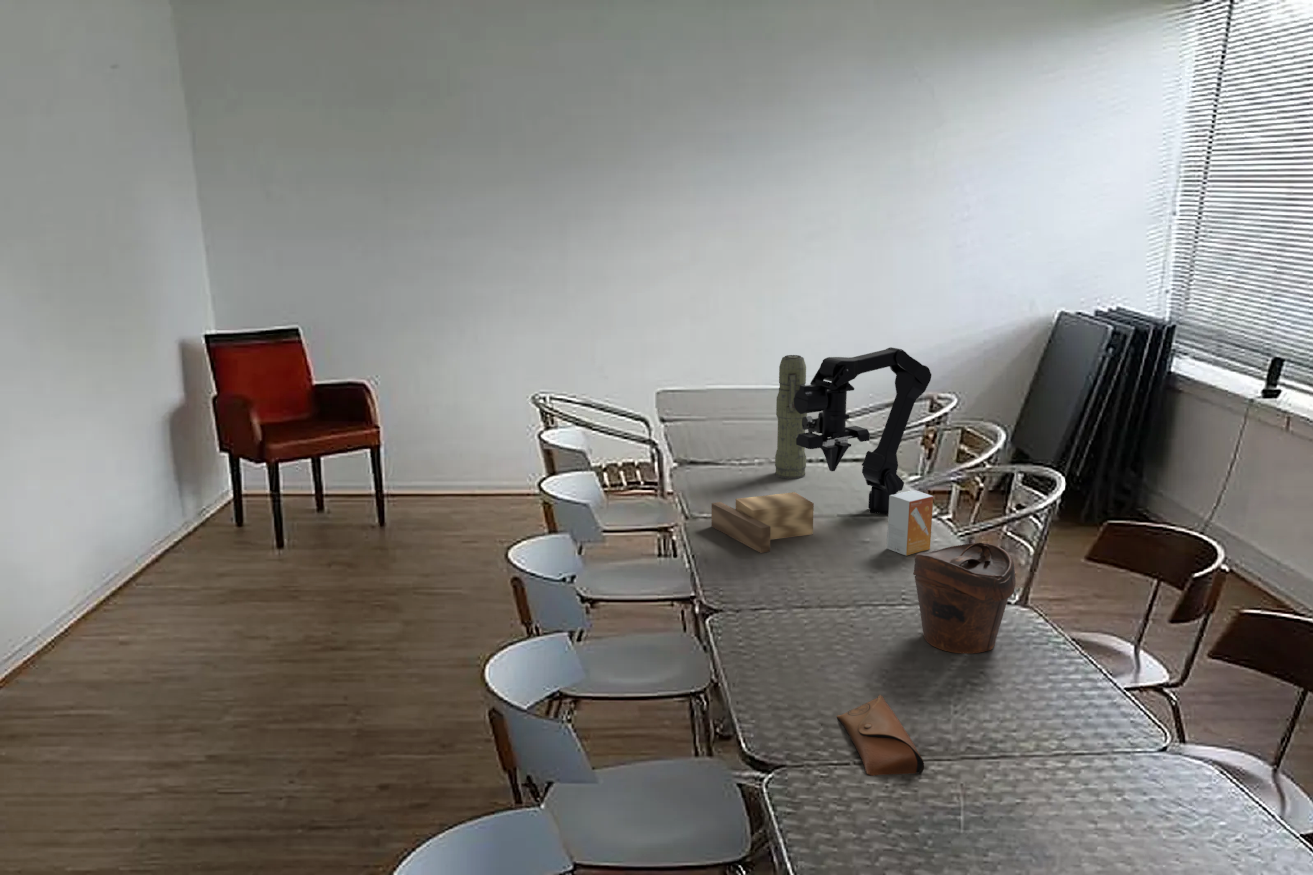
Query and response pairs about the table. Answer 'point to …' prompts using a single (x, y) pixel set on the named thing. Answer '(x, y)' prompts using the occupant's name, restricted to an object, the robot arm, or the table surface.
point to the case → (963, 595)
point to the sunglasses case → (881, 739)
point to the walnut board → (741, 527)
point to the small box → (909, 522)
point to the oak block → (780, 513)
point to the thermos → (790, 419)
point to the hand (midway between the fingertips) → (832, 470)
